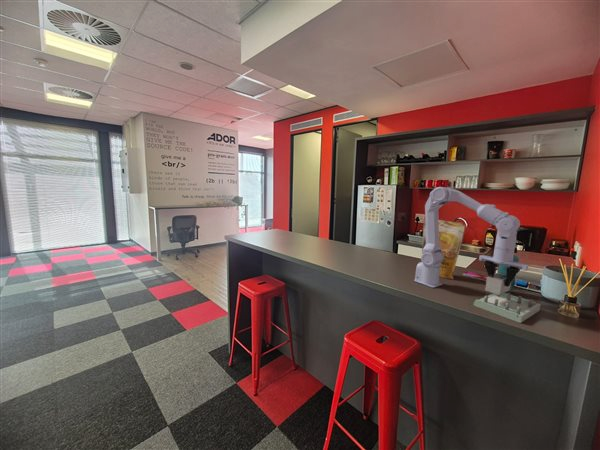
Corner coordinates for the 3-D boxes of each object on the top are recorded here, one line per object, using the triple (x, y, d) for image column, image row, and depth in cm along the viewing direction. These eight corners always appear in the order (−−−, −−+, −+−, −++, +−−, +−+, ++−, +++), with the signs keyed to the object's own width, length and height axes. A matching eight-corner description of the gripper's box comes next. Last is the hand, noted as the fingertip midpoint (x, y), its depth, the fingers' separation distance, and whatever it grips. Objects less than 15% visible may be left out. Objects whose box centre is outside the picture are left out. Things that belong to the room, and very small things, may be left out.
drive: (485, 290, 94) (487, 276, 93) (495, 285, 99) (497, 272, 98) (499, 294, 90) (501, 280, 89) (510, 290, 95) (512, 276, 94)
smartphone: (497, 283, 117) (462, 273, 128) (497, 285, 117) (462, 275, 129) (502, 280, 121) (468, 271, 133) (502, 282, 121) (467, 272, 133)
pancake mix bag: (421, 268, 138) (426, 217, 133) (459, 278, 123) (467, 222, 119) (415, 270, 134) (420, 218, 129) (453, 281, 119) (461, 223, 114)
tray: (473, 305, 94) (475, 295, 93) (494, 295, 103) (496, 286, 103) (520, 323, 82) (522, 311, 82) (539, 310, 92) (541, 300, 91)
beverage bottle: (490, 289, 110) (497, 245, 107) (500, 287, 112) (507, 244, 109) (507, 295, 104) (515, 249, 101) (517, 293, 106) (525, 248, 103)
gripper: (477, 245, 96) (472, 278, 98) (525, 254, 84) (518, 292, 86) (485, 243, 100) (481, 276, 102) (533, 252, 88) (526, 288, 90)
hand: (498, 283), depth 94 cm, fingers closed on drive, 5 cm apart
